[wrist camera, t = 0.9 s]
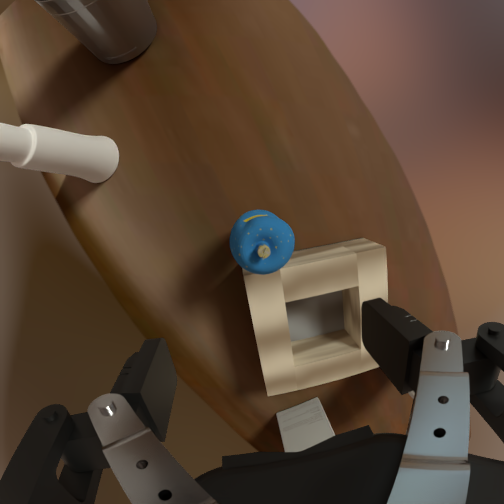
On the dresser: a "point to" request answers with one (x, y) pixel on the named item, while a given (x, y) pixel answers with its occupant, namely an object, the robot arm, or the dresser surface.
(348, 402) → the dresser surface
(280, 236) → the ornament
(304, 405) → the supplement box
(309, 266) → the socket block
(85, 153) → the cosmetic bottle
